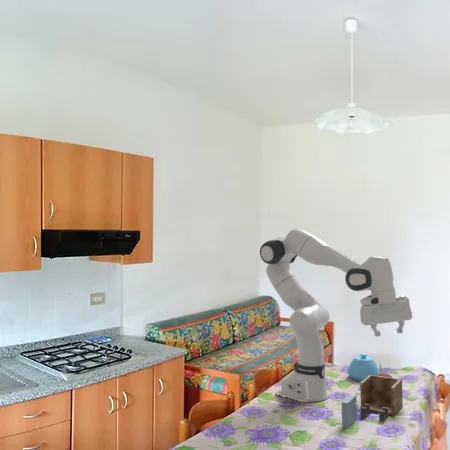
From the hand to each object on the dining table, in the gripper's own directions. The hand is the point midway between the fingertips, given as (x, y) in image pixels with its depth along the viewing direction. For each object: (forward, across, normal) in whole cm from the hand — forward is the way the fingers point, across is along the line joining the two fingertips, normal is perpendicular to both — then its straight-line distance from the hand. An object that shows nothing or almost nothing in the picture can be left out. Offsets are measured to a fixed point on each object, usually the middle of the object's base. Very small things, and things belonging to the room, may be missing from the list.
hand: (388, 334), depth 183 cm
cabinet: (+30, +2, -11) cm, 32 cm away
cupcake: (+29, -14, -35) cm, 48 cm away
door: (+30, +19, -2) cm, 36 cm away
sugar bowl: (+28, -14, -54) cm, 62 cm away
